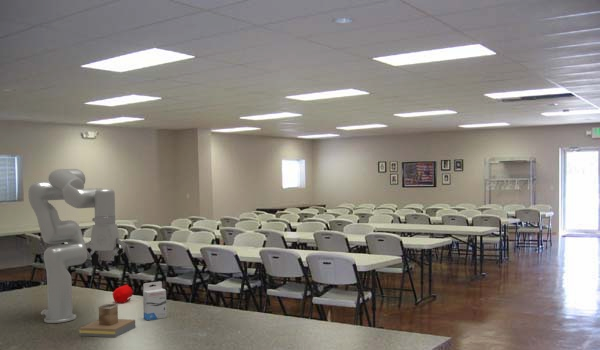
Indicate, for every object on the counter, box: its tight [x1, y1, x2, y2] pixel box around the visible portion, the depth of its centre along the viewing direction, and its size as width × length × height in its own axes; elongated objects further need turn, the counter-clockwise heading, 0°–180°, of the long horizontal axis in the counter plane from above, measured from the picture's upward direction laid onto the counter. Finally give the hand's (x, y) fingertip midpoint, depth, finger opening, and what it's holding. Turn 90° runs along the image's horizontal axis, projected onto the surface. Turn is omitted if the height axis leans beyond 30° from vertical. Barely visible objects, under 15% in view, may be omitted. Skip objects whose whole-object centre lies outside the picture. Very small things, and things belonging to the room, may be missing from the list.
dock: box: [78, 318, 136, 338], centre depth 216 cm, size 15×14×3 cm
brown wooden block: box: [98, 303, 119, 326], centre depth 216 cm, size 5×5×7 cm
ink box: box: [142, 281, 167, 321], centre depth 236 cm, size 8×5×15 cm, turn 123°
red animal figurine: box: [112, 284, 134, 304], centre depth 270 cm, size 8×8×8 cm
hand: (106, 265), depth 217 cm, fingers open, 9 cm apart
